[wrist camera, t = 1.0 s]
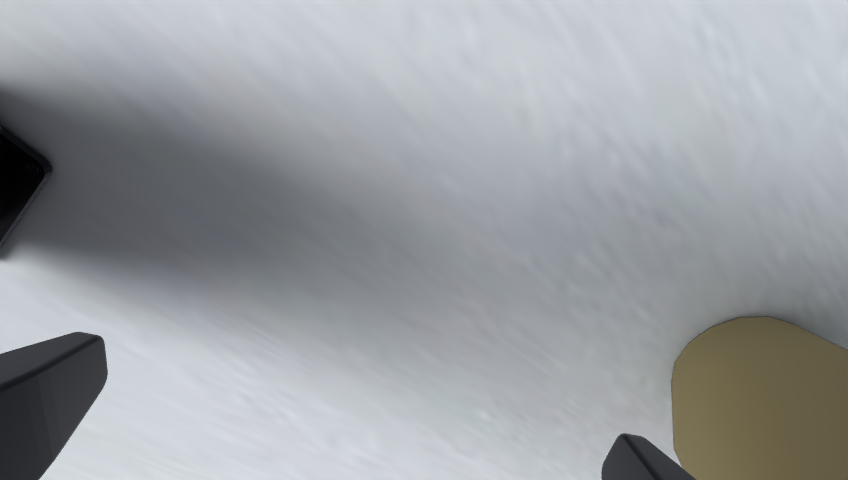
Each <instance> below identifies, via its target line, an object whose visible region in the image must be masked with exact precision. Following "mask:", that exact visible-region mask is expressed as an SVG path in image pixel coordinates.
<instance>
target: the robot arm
mask: <svg viewBox="0 0 848 480" xmlns="http://www.w3.org/2000/svg"><path fill="white" fill-rule="evenodd" d="M32 164H33V165H35V166H36V167H37V169H38V171H39V172H38V171H36V170H35V169H34V168H33V165H32ZM51 173H52V167H51V165H50V163H49V161H48V160H47V159H46V158H45V157H43V156H42V155H41V154H39V153H38V152H37V151H35V150H34V149H33V148H31V147H30V146H29V145H27V144H26V143H25V142H23V141H22V140H21V139H19V138H18V137H17V136H15V135H14V134H13V133H11V132H10V131H9V130H7V129H6V128H5V127H3V126H2V125H1V124H0V248H1V246H2V245H3V243H4V242H5V240H6V239H7V237H8V236H9V235H10V233H11V232H12V230H13V229H14V227H15V226H16V224H17V223H18V222H19V220H20V219H21V217H22V216H23V214H24V213H25V211H26V210H27V208H28V207H29V206H30V204H31V203H32V201H33V200H34V198H35V197H36V195H37V194H38V193H39V191H40V190H41V188H42V187H43V185H44V184H45V182H46V181H47V180H48V178H49V177H50V175H51ZM107 375H108V370H107V361H106V352H105V343H104V340H103V338H102V337H100V336H99V335H94V334H88V333H83V332H74V333H71V334H67V335H64V336H60V337H57V338H53V339H50V340H47V341H43V342H40V343H36V344H33V345H30V346H26V347H23V348H19V349H16V350H12V351H9V352H6V353H2V354H0V480H39V479H40V478H41V476H42V475H43V474H44V473H45V471H46V470H47V469H48V468H49V466H50V465H51V464H52V463H53V461H54V460H55V459H56V457H57V456H58V454H59V453H60V452H61V450H62V449H63V447H64V446H65V444H66V443H67V441H68V440H69V438H70V437H71V435H72V434H73V432H74V431H75V429H76V428H77V426H78V425H79V424H80V422H81V421H82V419H83V418H84V416H85V415H86V413H87V412H88V410H89V409H90V407H91V406H92V404H93V403H94V401H95V400H96V398H97V397H98V395H99V394H100V392H101V391H102V389H103V387H104V385H105V383H106V380H107ZM602 480H696V479H695V478H694V477H693V476H691V475H690V474H689V473H688V472H686V471H685V470H684V469H683V468H682V467H680V466H679V465H678V464H677V463H675V462H674V461H673V460H672V459H670V458H669V457H668V456H667V455H665V454H664V453H663V452H662V451H660V450H659V449H658V448H657V447H655V446H654V445H653V444H652V443H651V442H649V441H648V440H647V439H645V438H644V437H641V436H636V435H631V434H626V433H623V434H620V435H619V436H618V437H617V439H616V441H615V442H614V444H613V446H612V448H611V450H610V452H609V453H608V455H607V457H606V459H605V461H604V463H603V466H602Z"/></svg>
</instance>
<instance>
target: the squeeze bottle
mask: <svg viewBox="0 0 848 480" xmlns="http://www.w3.org/2000/svg"><path fill="white" fill-rule="evenodd" d="M671 391H672V416H673V442H674V451H675V453H676V455H677V457H678V459H679V462H680V464H681V466H682V468H683V469H684V470H685V471H686V472H688V473H689V474H690V475H691V476H693V477H694V478H695V479H696V480H848V350H846V349H844V348H842V347H840V346H838V345H836V344H834V343H832V342H830V341H827V340H825V339H823V338H821V337H819V336H817V335H815V334H813V333H811V332H808V331H806V330H804V329H802V328H800V327H798V326H796V325H794V324H791V323H788V322H784V321H781V320H778V319H774V318H771V317H748V318H737V319H734V320H731V321H728V322H725V323H722V324H720V325H717V326H714V327H711V328H709V329H708V330H706V331H705V332H704V333H702V334H701V335H699V336H698V337H697V338H695V339H694V340H692V341H691V342H689V343H688V344H687V346H686V347H685V348H684V350H683V351H682V353H681V354H680V356H679V357H678V358H677V360H676V361H675V363H674V368H673V374H672V381H671Z"/></svg>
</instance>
